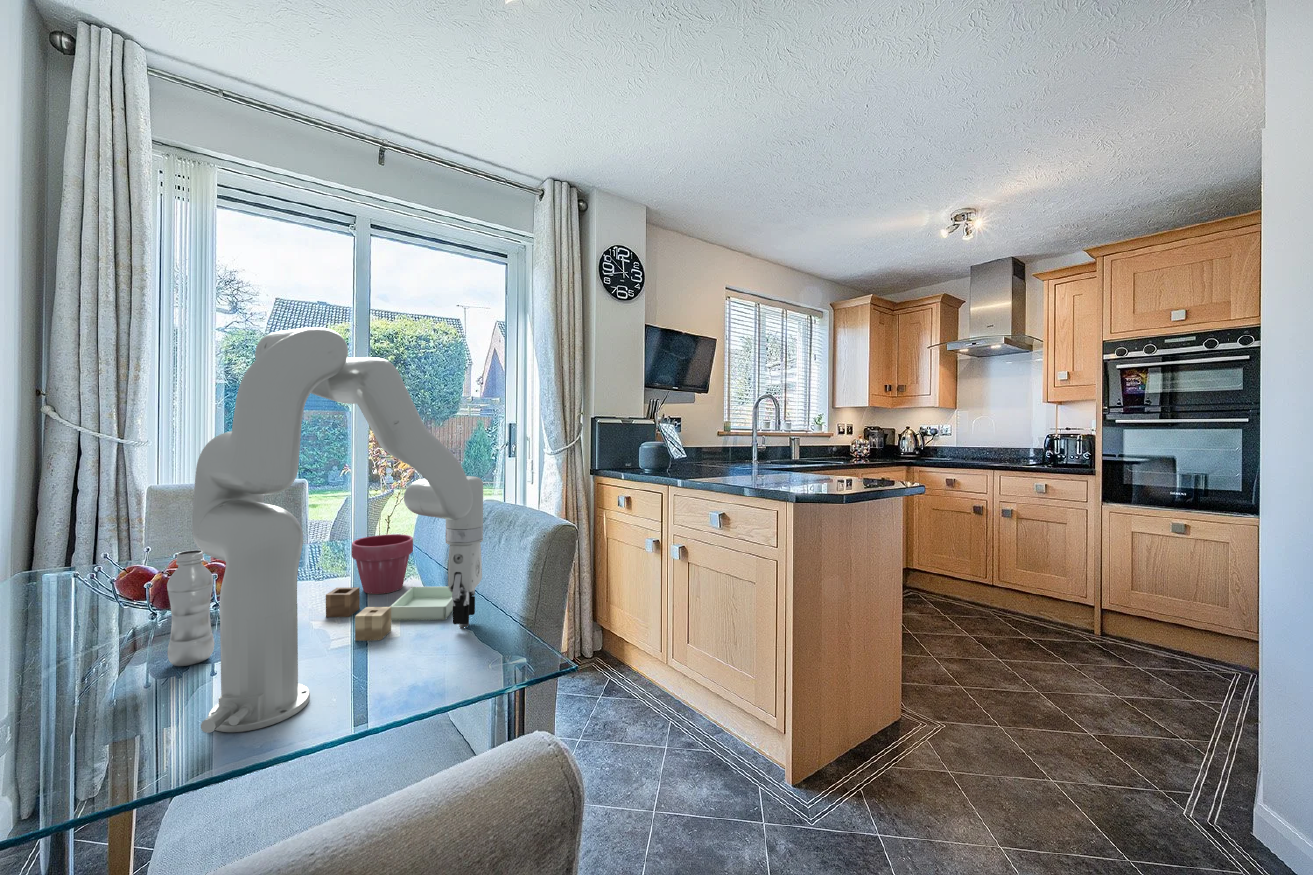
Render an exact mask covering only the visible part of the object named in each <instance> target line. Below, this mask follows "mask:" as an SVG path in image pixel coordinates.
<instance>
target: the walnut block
mask: <svg viewBox="0 0 1313 875" xmlns="http://www.w3.org/2000/svg"><path fill="white" fill-rule="evenodd" d="M360 599H361V598H360V587H336V588H334V589H332V590H330V592H328V593H326V594H325V618H350V617H351V616H352V615H354V614H355V613H356V612H358V611H359V610H360V601H361V600H360Z"/></svg>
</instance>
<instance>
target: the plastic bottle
mask: <svg viewBox="0 0 1313 875" xmlns="http://www.w3.org/2000/svg"><path fill="white" fill-rule="evenodd" d="M204 561H205V558H204V552H202V551H201V550H200V549H192V550H191V549H190V550H185V551H181V552H177V553H176V562H175V564H176V566H177V568H176V569H175V570H174V572H173V573H172V575H170V577H169V579H168V581H167V583H166V590H167V596H168V600H169V604H170V614H171V626H170V627H171V628H170V640H169V642H168V646H167V647H168V648H167V653H166V654H167V659H168V661H169V662H170V664H171V665H173V666H175V667H186V666H191V665H196V664H199V663H201V662H204V661H206V660H207V659H209V658H210V657H211V655H212V654H213V653H214V649H215V640H214V634H213V631H212V624H211V616H210V615H211V614H210V613H211V609H210V608H211V598H212V592H213V586H214V576H213V574H212V572H211V571H210V570H209V569H208V568H207V567H206V566H205V565H204V564H203V562H204Z"/></svg>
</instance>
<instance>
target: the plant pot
mask: <svg viewBox="0 0 1313 875" xmlns="http://www.w3.org/2000/svg"><path fill="white" fill-rule="evenodd" d="M413 552H414V539H413V537H412V535H408V534H400V533H399V534H396V533H394V534H379V535H371V536H365V537H361V538H358V539H355V540H353V541H352V542H351V558H352V559H353V560H355V562H356V563H355V564H356V567H357V571H358V576H359V579H360V582H361V587H362V592H364V593H366V594H371V595H381V594H382V595H383V594H389V593H393V592H396V591H400V590H401V589H402V588H404V586H403V585H404V582H405V579H406V578H405V577H406V572H407V568H408V564H409V558H410V555H411V554H412V553H413Z"/></svg>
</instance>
